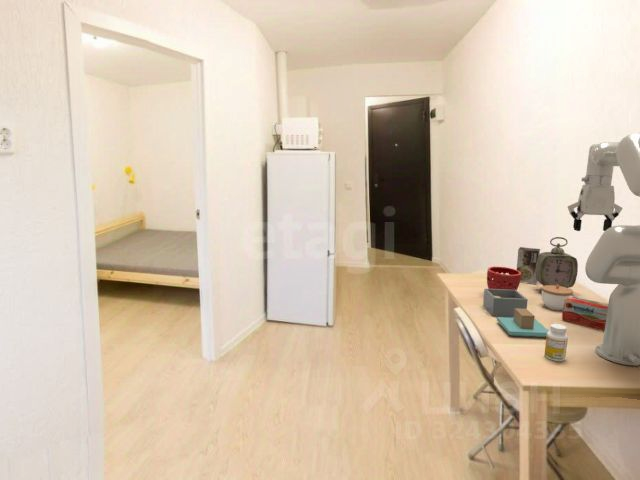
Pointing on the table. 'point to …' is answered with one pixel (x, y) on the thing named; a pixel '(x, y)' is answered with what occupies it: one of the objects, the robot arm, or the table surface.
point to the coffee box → (527, 264)
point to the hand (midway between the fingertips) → (591, 230)
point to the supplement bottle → (556, 343)
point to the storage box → (503, 302)
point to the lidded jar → (555, 296)
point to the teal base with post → (522, 324)
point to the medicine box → (585, 312)
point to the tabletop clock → (556, 267)
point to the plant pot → (503, 278)
